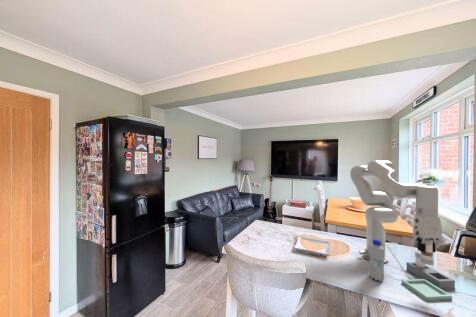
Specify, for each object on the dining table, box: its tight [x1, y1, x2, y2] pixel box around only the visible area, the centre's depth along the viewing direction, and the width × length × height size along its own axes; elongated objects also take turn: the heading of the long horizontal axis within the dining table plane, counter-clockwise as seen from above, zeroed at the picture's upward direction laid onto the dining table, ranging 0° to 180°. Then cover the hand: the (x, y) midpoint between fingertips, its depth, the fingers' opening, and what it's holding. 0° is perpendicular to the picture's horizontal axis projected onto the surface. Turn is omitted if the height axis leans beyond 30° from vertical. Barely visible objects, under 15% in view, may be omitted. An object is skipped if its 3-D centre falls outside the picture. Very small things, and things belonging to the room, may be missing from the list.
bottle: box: [368, 240, 386, 283], centre depth 100 cm, size 7×7×20 cm
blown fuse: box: [420, 237, 435, 266], centre depth 90 cm, size 4×4×11 cm
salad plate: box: [294, 236, 331, 257], centre depth 132 cm, size 21×21×3 cm
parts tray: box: [401, 278, 453, 302], centre depth 91 cm, size 12×12×2 cm
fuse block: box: [406, 261, 456, 290], centre depth 100 cm, size 17×8×4 cm, turn 4°
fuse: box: [414, 250, 426, 269], centre depth 105 cm, size 4×4×11 cm
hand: (426, 250), depth 91 cm, fingers closed on blown fuse, 4 cm apart
